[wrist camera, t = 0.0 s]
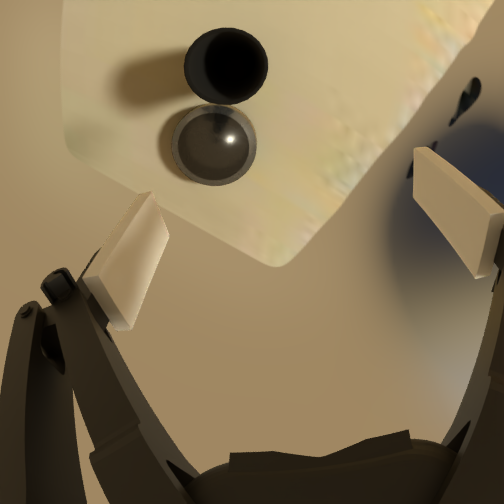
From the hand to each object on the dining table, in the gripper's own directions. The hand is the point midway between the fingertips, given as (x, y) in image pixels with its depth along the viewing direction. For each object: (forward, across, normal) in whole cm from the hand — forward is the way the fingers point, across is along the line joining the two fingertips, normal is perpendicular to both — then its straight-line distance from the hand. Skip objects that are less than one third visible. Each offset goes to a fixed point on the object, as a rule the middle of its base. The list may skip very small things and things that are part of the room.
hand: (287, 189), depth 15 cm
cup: (+28, -3, +6) cm, 29 cm away
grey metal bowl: (+28, -8, -4) cm, 29 cm away
